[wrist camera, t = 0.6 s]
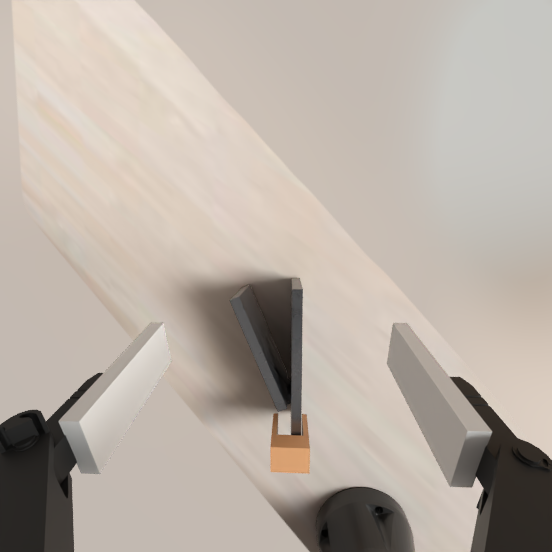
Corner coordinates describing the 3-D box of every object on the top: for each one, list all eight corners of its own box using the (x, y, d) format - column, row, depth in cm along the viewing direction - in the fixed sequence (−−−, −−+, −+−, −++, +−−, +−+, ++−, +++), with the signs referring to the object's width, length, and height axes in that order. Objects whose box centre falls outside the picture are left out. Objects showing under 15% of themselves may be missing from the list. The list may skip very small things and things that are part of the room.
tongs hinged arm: (287, 373, 41) (287, 408, 32) (280, 375, 41) (277, 411, 32) (250, 284, 39) (238, 296, 31) (242, 287, 39) (229, 300, 31)
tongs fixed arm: (298, 412, 42) (300, 458, 33) (278, 411, 42) (276, 457, 33) (299, 278, 39) (302, 289, 30) (278, 278, 39) (275, 289, 30)
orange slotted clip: (306, 435, 37) (309, 473, 31) (273, 434, 37) (270, 471, 31) (306, 414, 36) (309, 448, 30) (273, 413, 36) (270, 447, 30)
